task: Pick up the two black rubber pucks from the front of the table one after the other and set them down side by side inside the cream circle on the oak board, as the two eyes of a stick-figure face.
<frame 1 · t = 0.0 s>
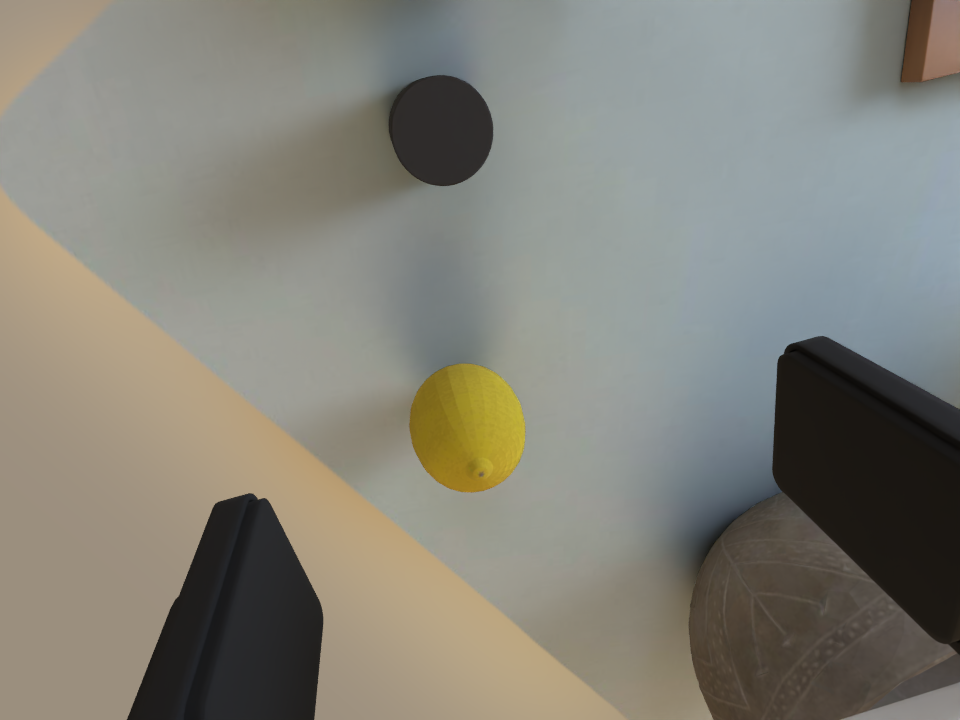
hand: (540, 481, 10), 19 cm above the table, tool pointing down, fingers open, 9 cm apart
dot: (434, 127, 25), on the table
lemon: (455, 383, 31), on the table
bowl: (777, 541, 41), on the table
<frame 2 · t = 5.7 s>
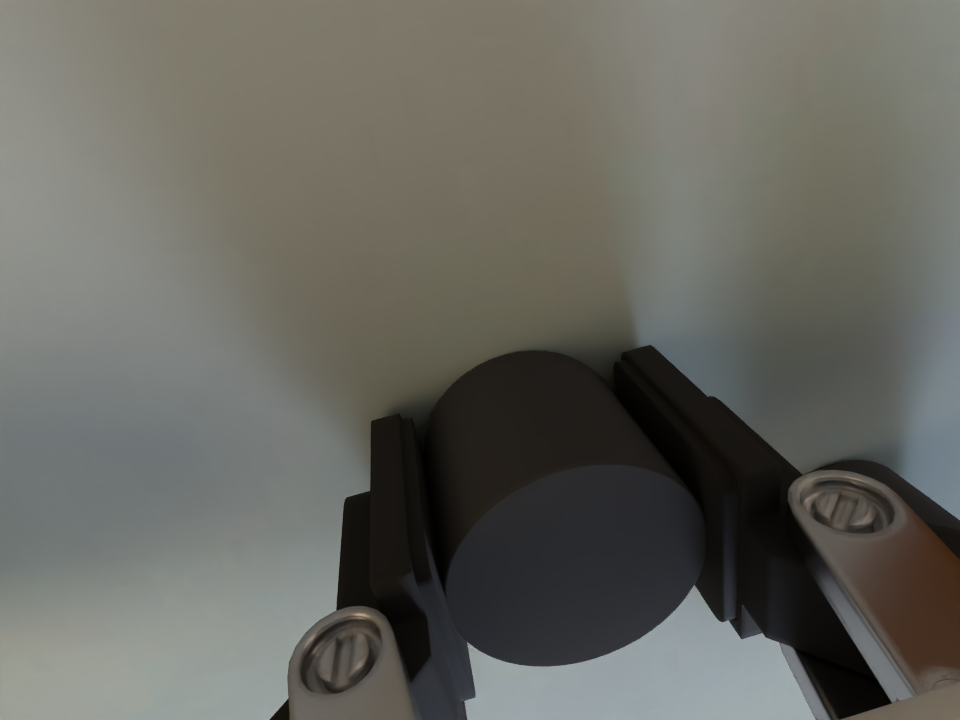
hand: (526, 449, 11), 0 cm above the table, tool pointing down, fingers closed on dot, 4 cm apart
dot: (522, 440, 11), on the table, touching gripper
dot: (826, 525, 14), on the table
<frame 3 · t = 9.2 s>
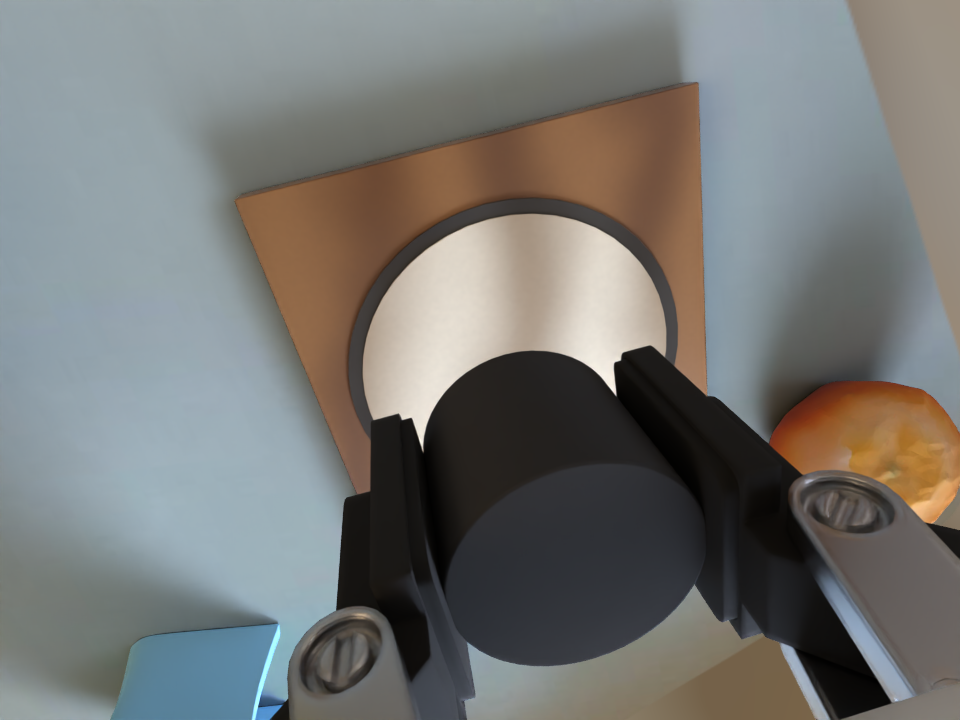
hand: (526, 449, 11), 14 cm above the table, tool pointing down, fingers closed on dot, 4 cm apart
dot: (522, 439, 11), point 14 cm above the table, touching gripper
fruit: (812, 418, 32), on the table
vase: (214, 674, 32), on the table
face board: (513, 357, 26), on the table
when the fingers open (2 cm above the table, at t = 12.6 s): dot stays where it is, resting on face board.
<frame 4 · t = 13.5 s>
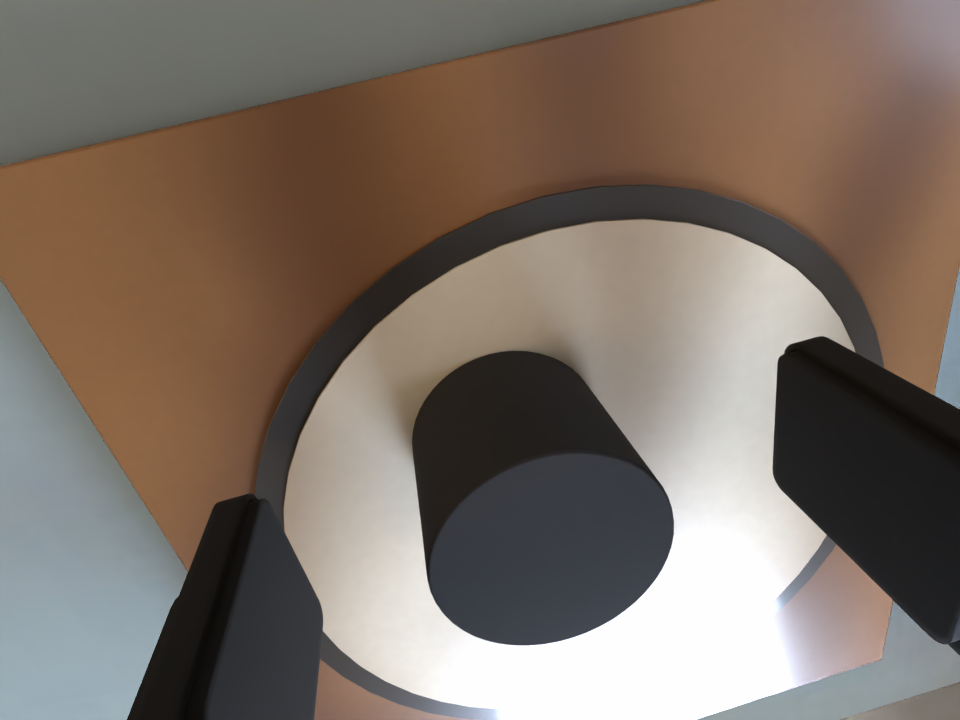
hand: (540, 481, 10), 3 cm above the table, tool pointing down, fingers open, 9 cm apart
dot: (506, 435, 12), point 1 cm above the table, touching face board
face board: (574, 481, 14), on the table
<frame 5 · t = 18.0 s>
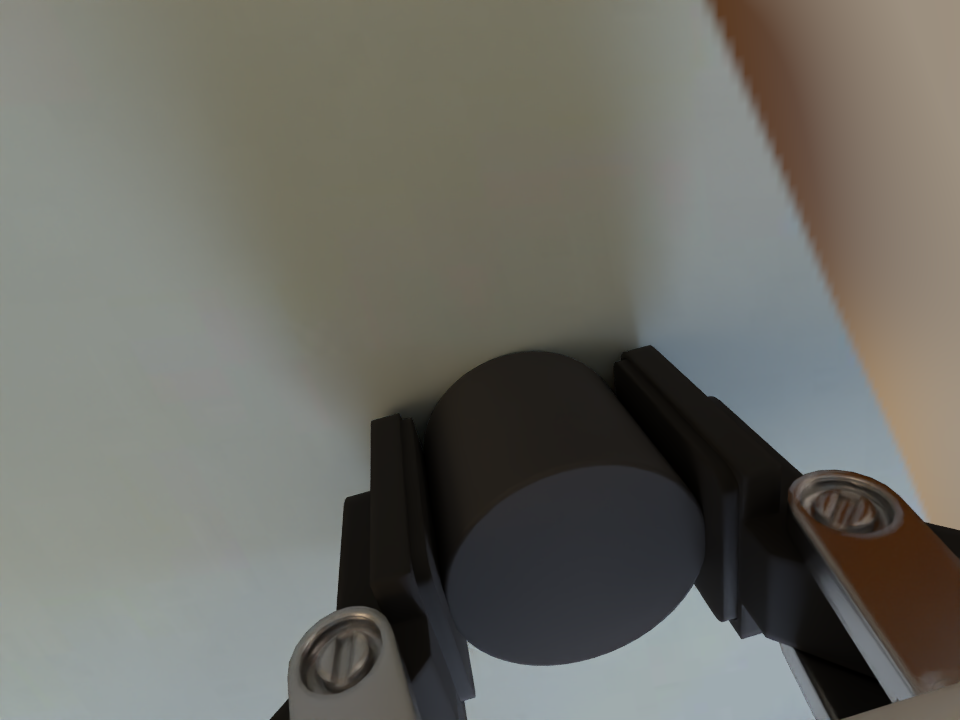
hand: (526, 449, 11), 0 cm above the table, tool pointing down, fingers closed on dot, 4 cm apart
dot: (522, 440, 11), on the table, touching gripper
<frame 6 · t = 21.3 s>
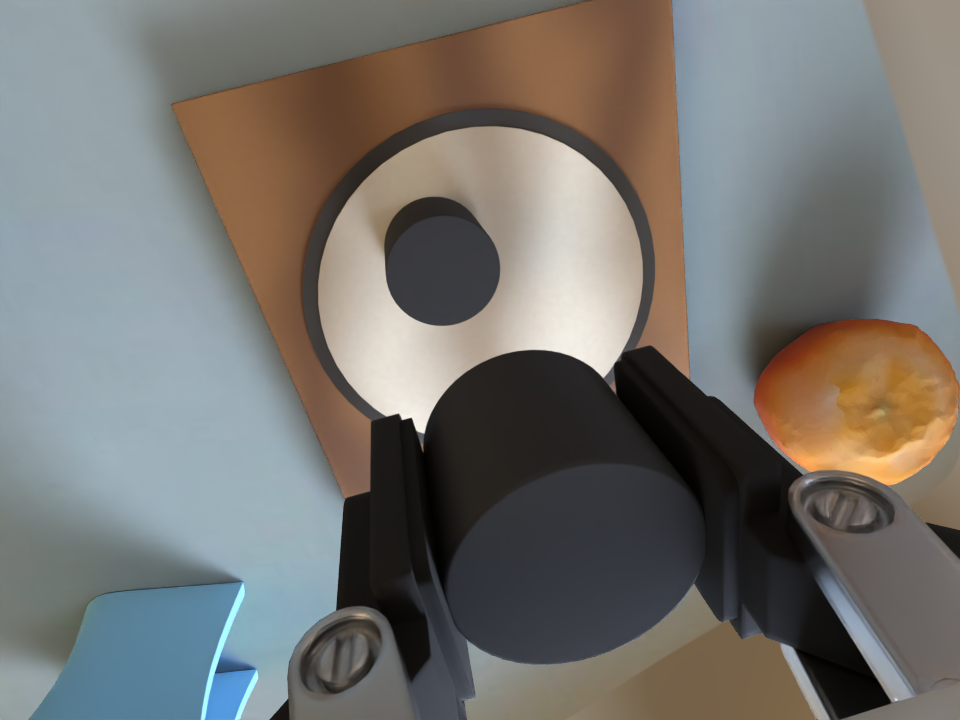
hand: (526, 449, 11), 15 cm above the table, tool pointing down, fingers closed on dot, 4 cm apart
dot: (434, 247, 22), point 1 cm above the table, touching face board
fruit: (801, 366, 30), on the table
vase: (177, 636, 31), on the table
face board: (482, 292, 25), on the table
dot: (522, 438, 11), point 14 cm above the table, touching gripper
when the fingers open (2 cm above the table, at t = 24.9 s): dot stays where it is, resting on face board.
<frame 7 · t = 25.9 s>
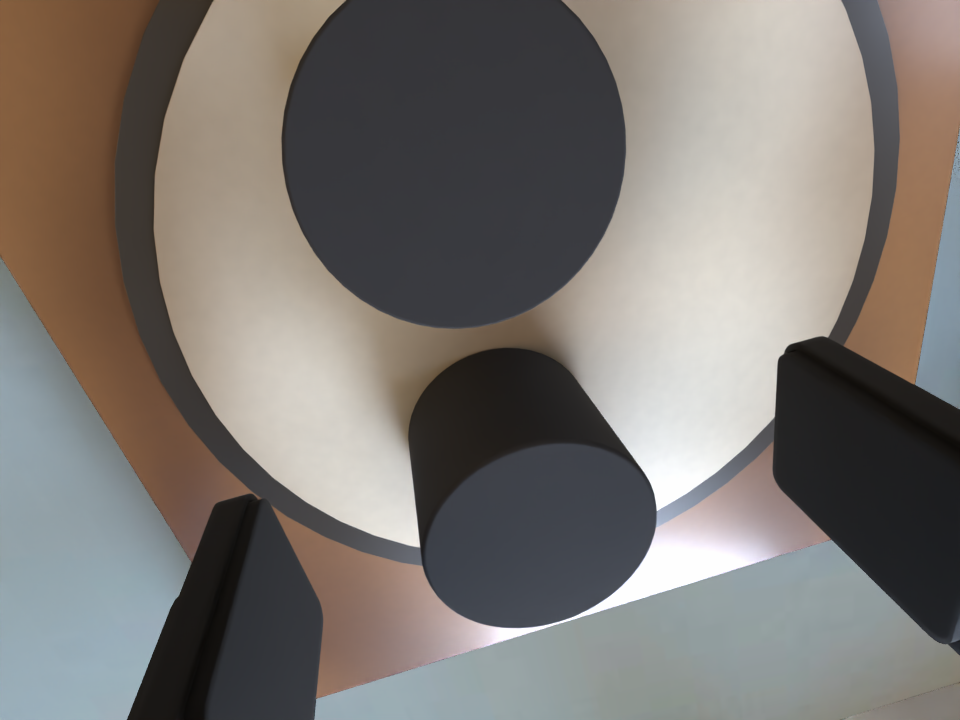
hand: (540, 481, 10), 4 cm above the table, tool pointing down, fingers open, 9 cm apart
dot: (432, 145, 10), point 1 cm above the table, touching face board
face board: (529, 263, 12), on the table
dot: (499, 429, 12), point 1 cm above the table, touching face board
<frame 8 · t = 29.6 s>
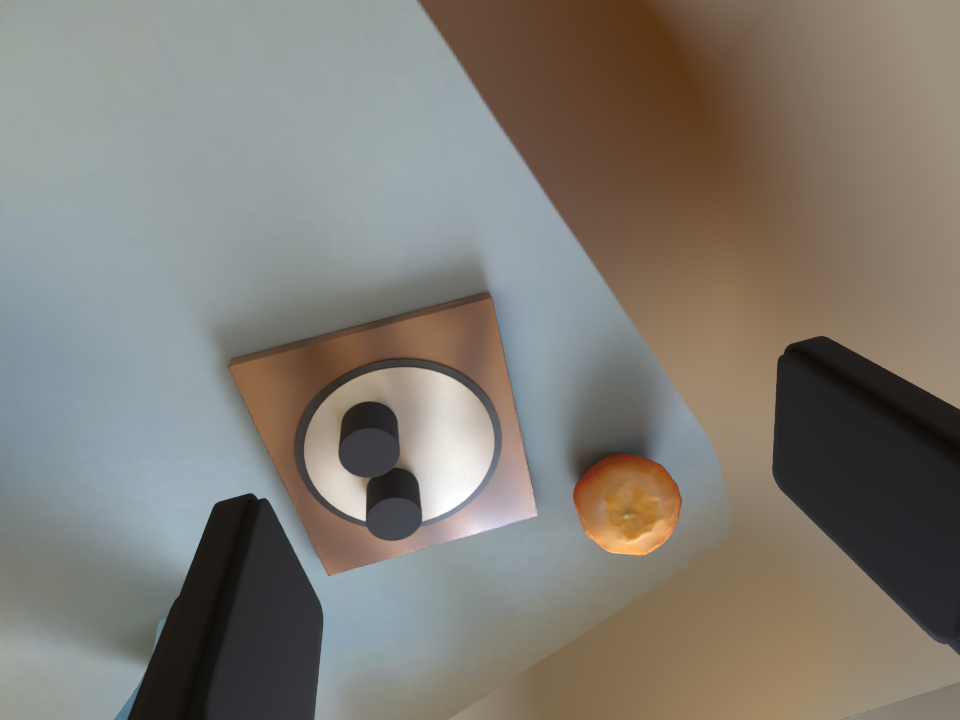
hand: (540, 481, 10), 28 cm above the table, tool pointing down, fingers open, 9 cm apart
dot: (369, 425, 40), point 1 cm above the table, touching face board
fruit: (610, 473, 48), on the table
vase: (212, 642, 48), on the table
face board: (401, 441, 43), on the table
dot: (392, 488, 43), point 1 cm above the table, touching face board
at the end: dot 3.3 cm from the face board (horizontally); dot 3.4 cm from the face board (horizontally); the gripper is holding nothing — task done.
